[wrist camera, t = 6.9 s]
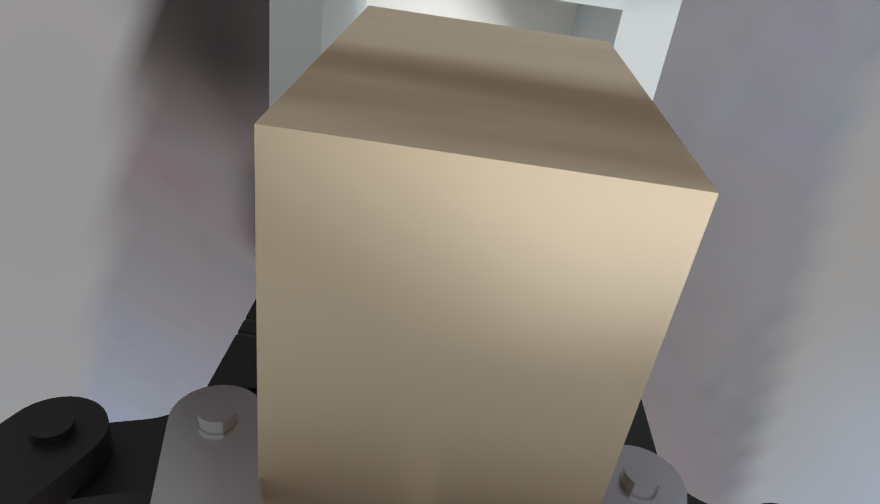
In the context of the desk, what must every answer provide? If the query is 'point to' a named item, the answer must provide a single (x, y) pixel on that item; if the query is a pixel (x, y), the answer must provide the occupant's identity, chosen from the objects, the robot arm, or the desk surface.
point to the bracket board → (502, 3)
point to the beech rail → (462, 264)
